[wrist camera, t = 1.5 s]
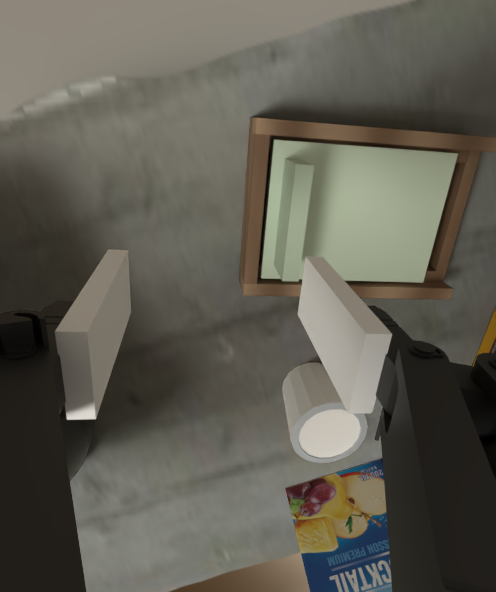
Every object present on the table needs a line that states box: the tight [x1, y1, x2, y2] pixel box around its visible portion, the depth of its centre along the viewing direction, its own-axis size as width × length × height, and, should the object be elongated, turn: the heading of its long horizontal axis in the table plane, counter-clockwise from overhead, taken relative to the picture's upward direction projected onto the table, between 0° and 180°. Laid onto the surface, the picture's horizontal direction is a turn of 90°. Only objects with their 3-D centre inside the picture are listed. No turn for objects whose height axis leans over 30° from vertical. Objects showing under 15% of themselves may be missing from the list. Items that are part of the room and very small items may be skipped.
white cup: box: [282, 363, 368, 463], centre depth 38 cm, size 7×7×7 cm
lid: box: [259, 139, 458, 283], centre depth 30 cm, size 14×10×4 cm
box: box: [239, 118, 496, 299], centre depth 32 cm, size 18×13×4 cm
